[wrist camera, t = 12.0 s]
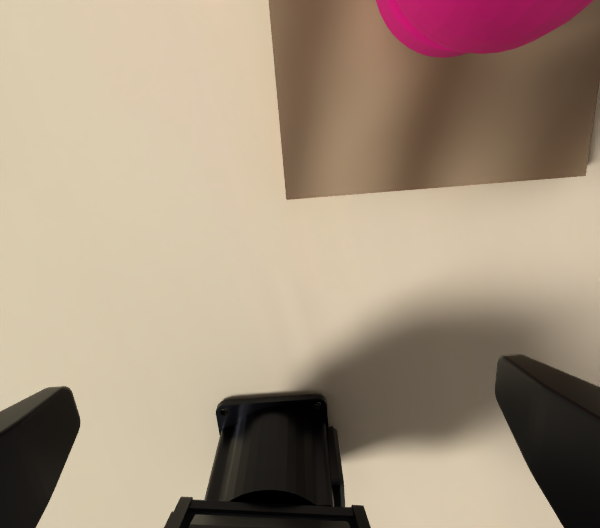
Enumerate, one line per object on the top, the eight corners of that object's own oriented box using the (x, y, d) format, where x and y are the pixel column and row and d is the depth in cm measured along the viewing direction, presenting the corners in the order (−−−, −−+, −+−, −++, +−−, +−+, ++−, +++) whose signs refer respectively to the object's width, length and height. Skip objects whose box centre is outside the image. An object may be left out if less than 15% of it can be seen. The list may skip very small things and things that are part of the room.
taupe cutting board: (287, 195, 20) (286, 199, 19) (255, -165, 16) (252, -187, 15) (568, 173, 20) (585, 175, 19) (618, -199, 15) (644, -225, 14)
